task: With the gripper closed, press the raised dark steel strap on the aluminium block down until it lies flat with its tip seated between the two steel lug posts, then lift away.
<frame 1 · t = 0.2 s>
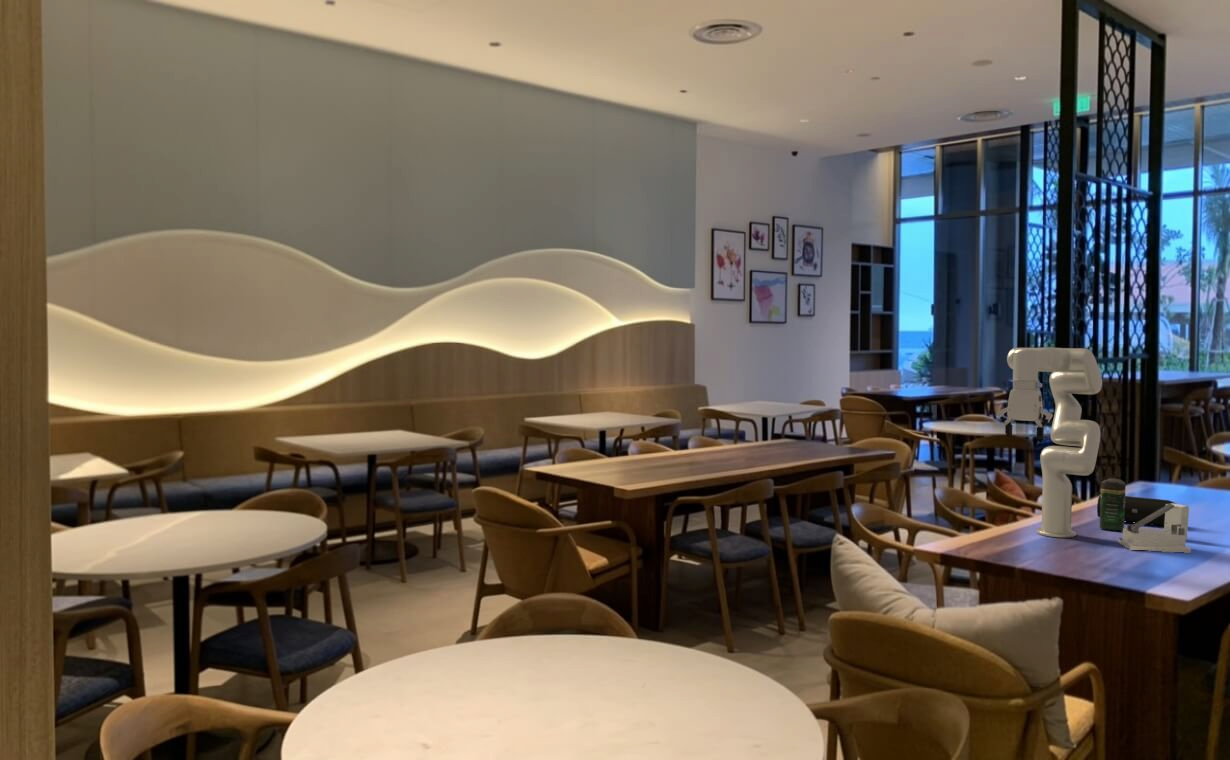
hand: (1024, 437, 299), 37 cm above the table, tool pointing down, fingers open, 9 cm apart
skincare box: (1175, 539, 317), on the table
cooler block: (1153, 547, 303), on the table
portable speaker: (1136, 523, 345), on the table
strap: (1151, 517, 303), point 10 cm above the table, hinge at 35.0°
coffee jar: (1112, 529, 333), on the table
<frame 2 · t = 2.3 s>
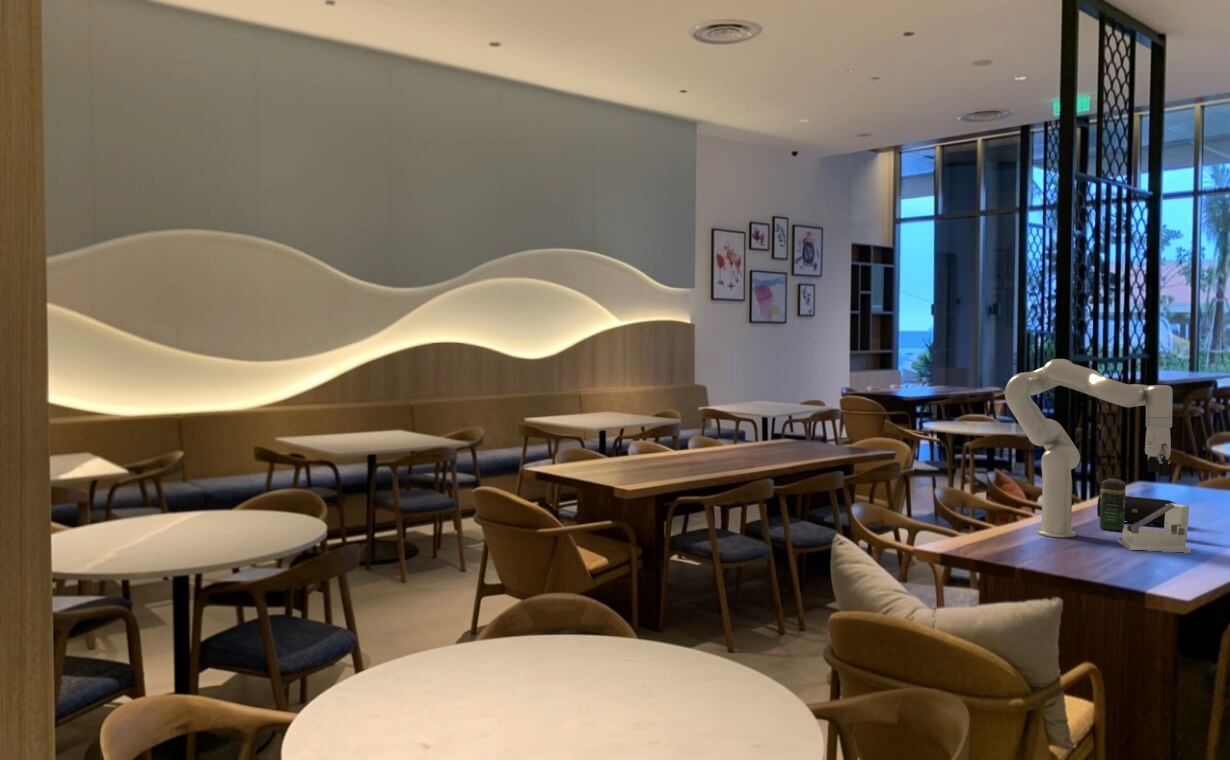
hand: (1158, 473, 301), 25 cm above the table, tool pointing down, fingers open, 9 cm apart
nothing on the table moved.
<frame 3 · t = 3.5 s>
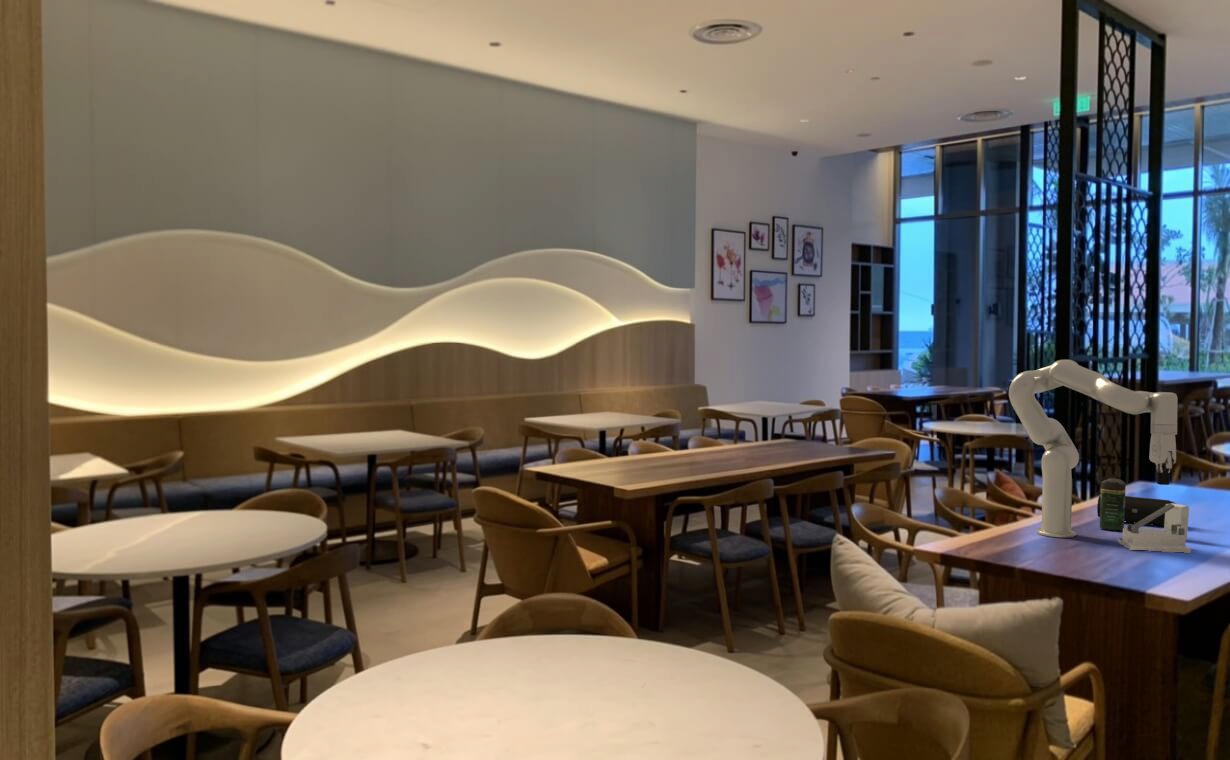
hand: (1163, 484, 302), 22 cm above the table, tool pointing down, fingers closed
nothing on the table moved.
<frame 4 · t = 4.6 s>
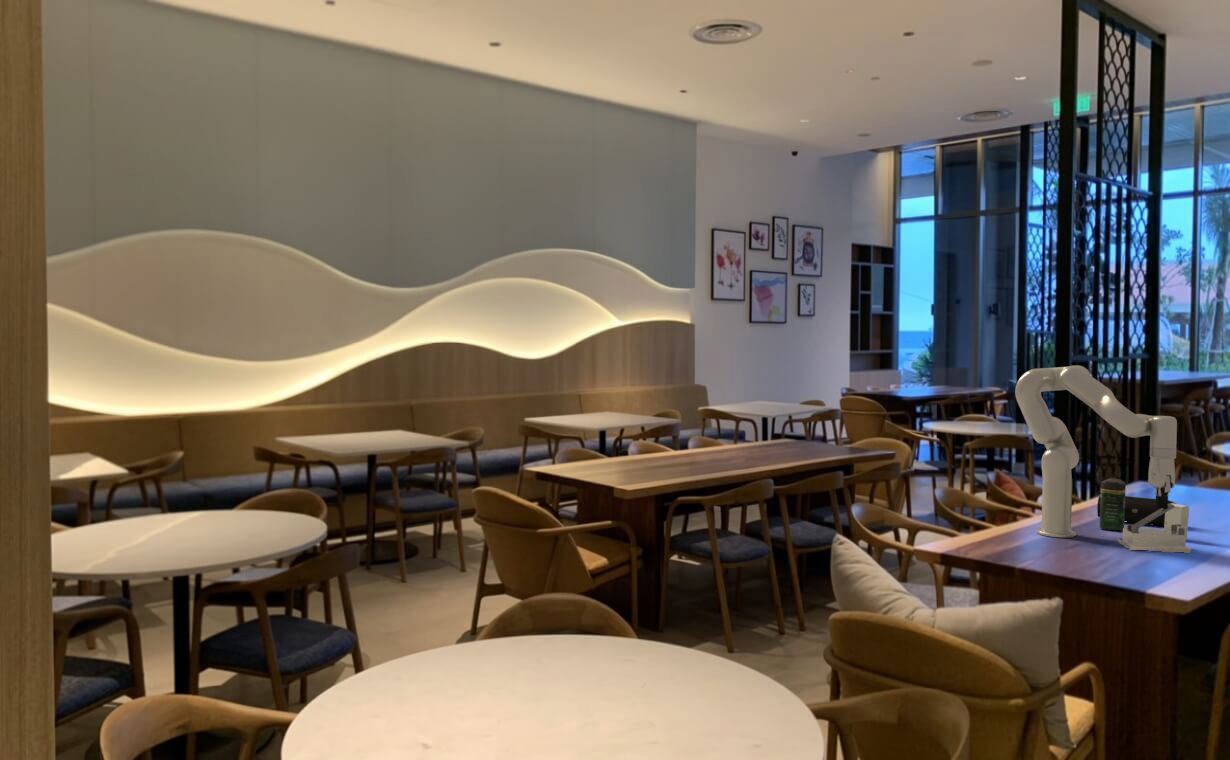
hand: (1161, 507, 302), 14 cm above the table, tool pointing down, fingers closed
strap: (1151, 517, 303), point 10 cm above the table, hinge at 34.9°, touching gripper
everything else where it was.
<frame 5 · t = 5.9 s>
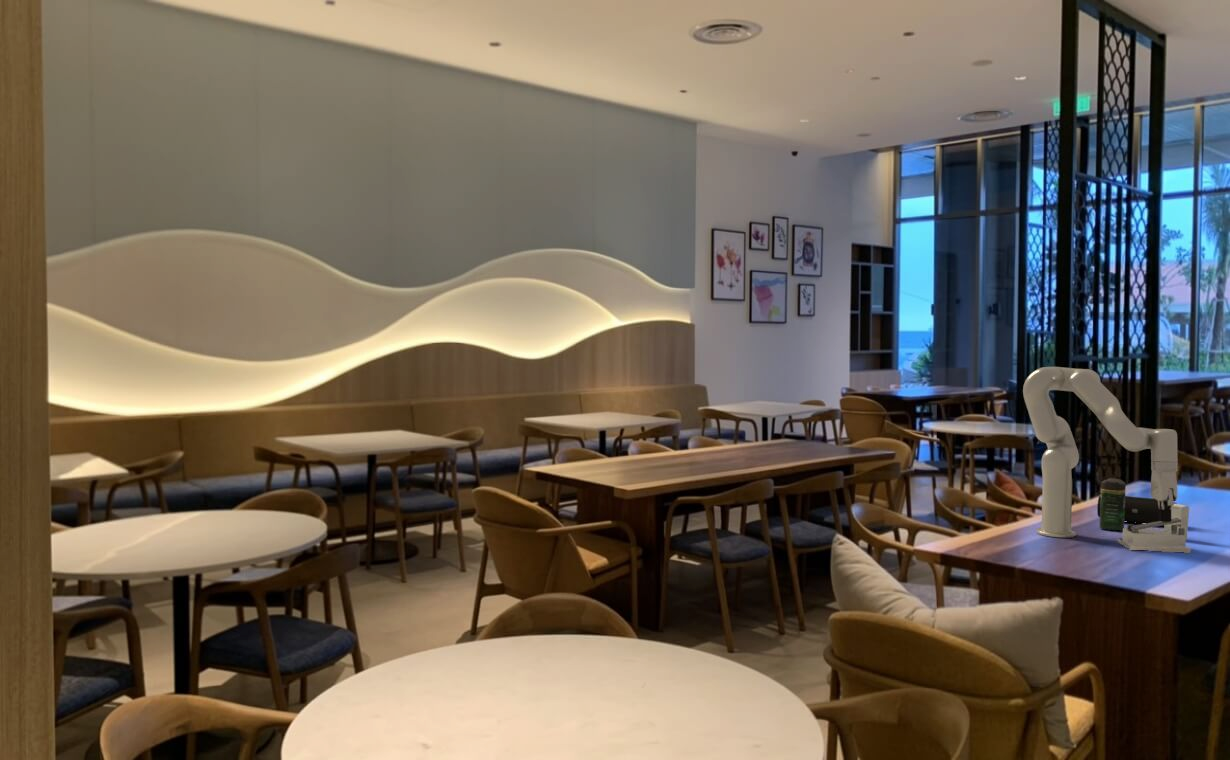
hand: (1165, 521, 302), 9 cm above the table, tool pointing down, fingers closed
strap: (1154, 524, 303), point 8 cm above the table, hinge at 13.6°, touching gripper
everything else where it was.
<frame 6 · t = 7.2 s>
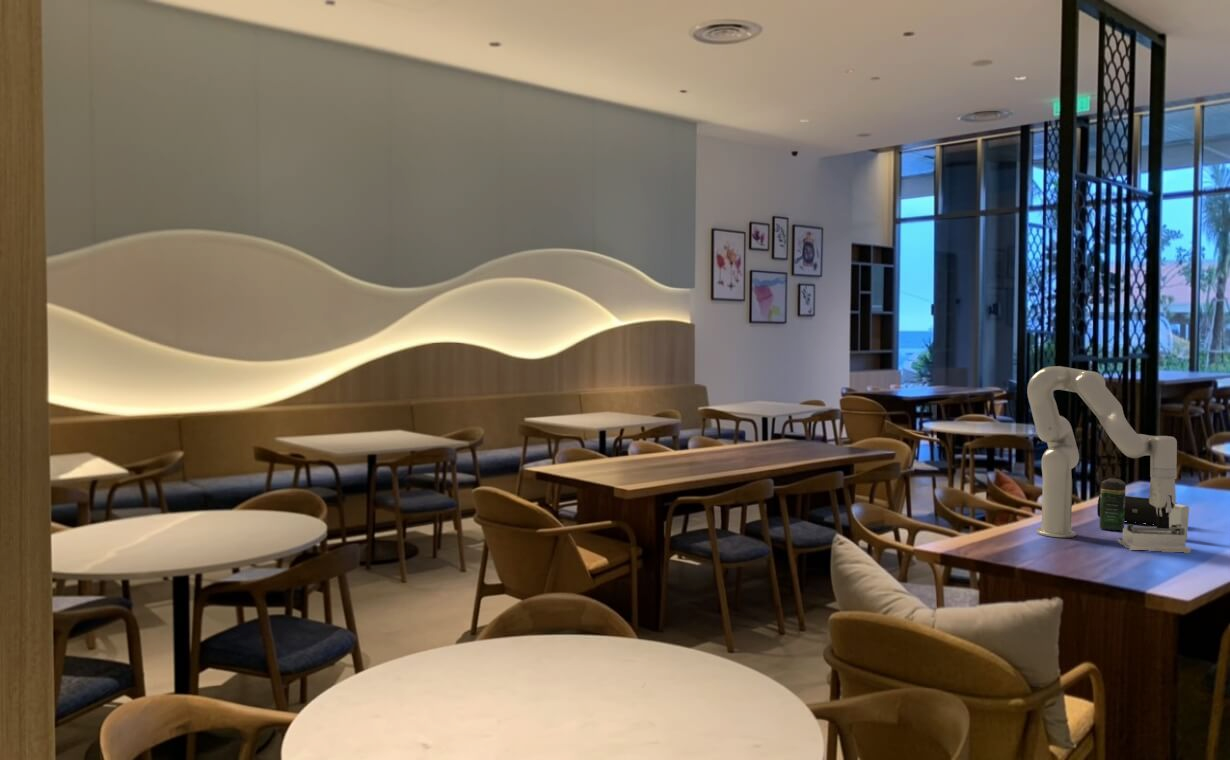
hand: (1162, 527, 302), 7 cm above the table, tool pointing down, fingers closed
strap: (1155, 528, 303), point 6 cm above the table, hinge at 1.6°, touching gripper
everything else where it was.
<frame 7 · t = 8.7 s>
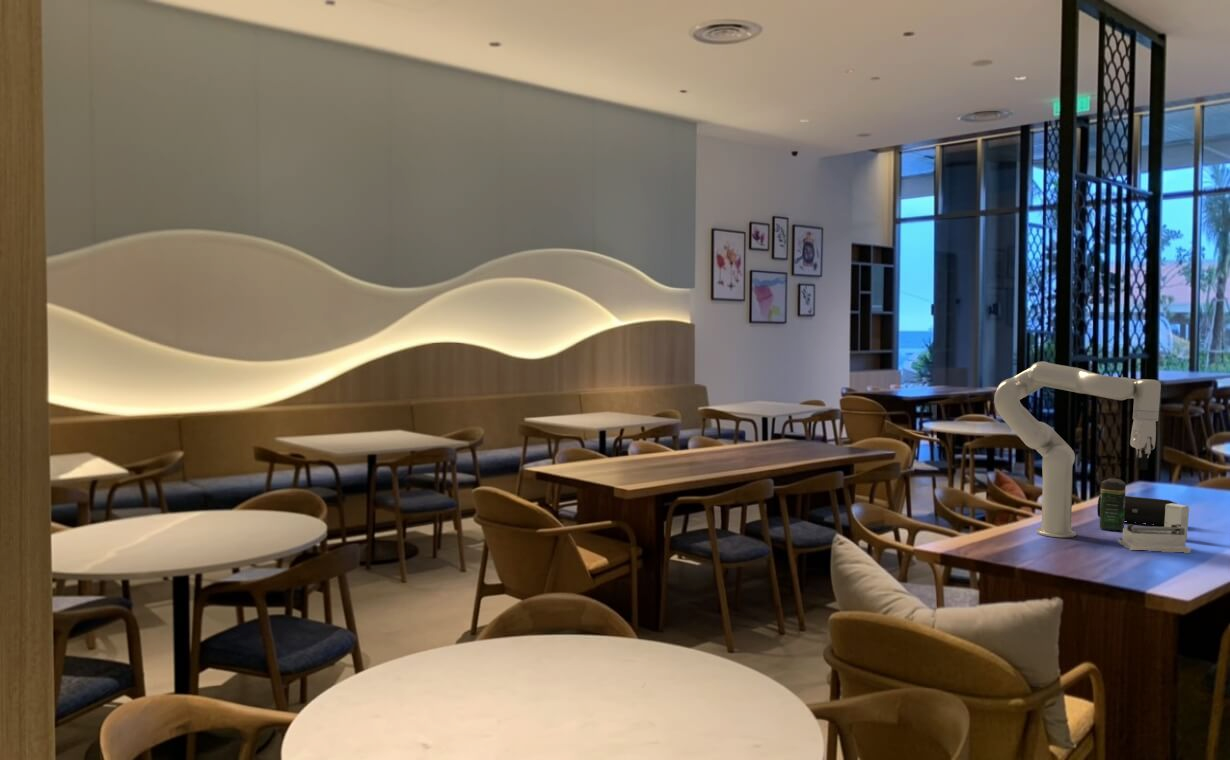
hand: (1141, 469, 309), 26 cm above the table, tool pointing down, fingers closed
strap: (1155, 528, 303), point 6 cm above the table, hinge at 1.5°
everything else where it was.
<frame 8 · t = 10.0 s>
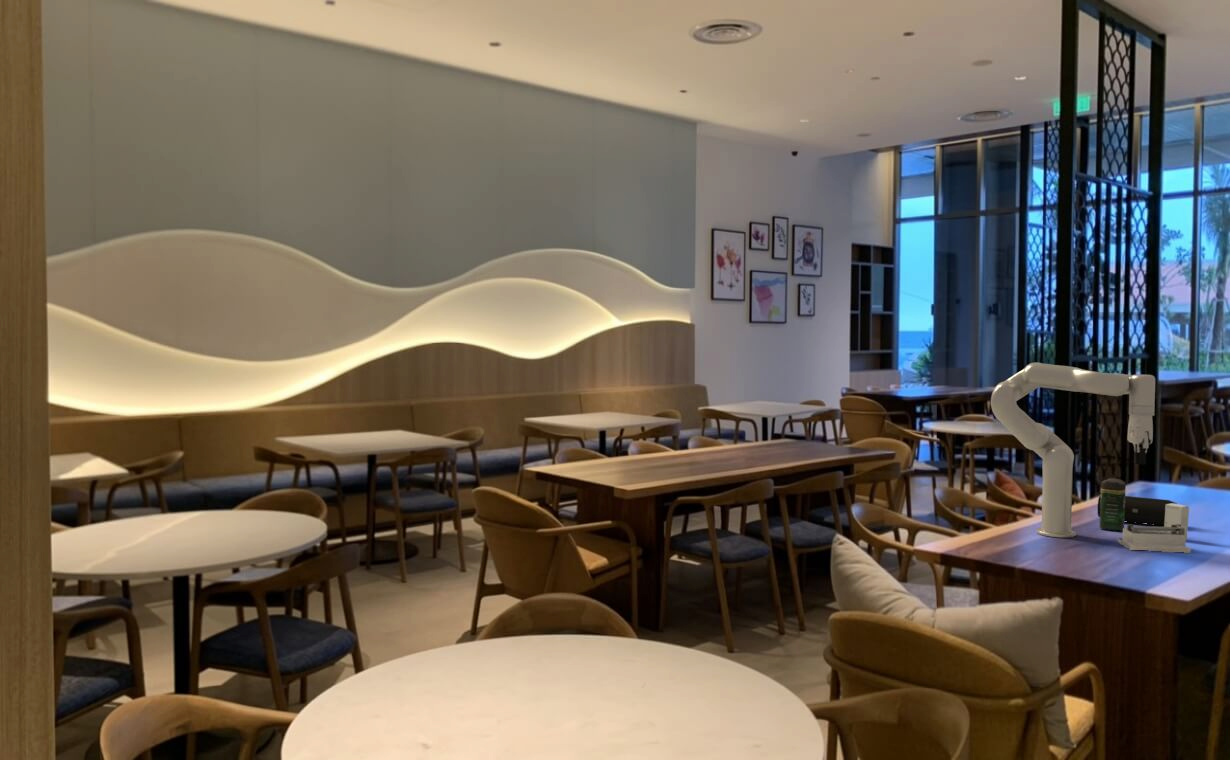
hand: (1140, 463, 310), 27 cm above the table, tool pointing down, fingers closed
nothing on the table moved.
at the end: strap at +2° (first picture: +35°) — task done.
